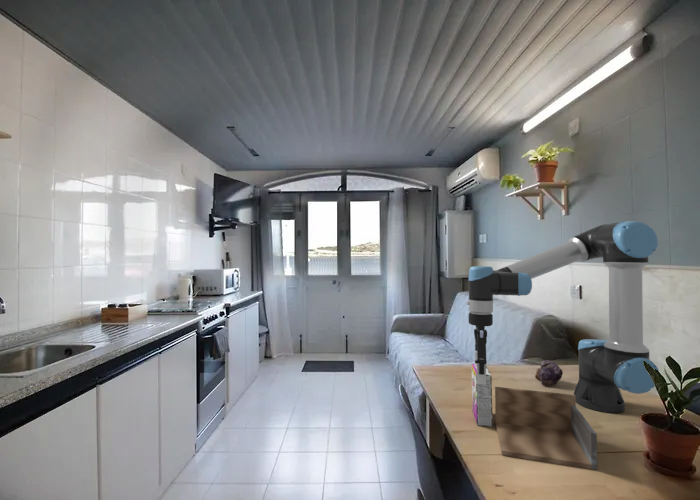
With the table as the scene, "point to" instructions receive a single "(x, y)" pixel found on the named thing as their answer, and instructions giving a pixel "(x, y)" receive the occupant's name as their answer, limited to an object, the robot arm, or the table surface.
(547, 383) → the rock
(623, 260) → the robot arm
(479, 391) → the candy bar box
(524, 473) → the table surface
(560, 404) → the shelf
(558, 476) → the table surface
